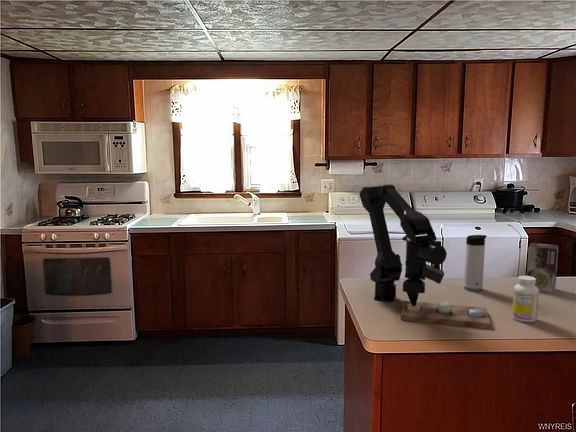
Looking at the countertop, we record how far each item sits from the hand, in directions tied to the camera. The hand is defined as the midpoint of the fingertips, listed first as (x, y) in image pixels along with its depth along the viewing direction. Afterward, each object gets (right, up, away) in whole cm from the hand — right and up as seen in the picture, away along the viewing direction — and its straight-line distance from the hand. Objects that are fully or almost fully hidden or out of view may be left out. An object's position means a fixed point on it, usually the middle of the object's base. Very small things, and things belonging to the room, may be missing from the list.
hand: (413, 305), depth 144 cm
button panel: (+9, -3, -2) cm, 9 cm away
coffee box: (+52, +1, +22) cm, 56 cm away
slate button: (+17, -3, -5) cm, 18 cm away
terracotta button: (0, -2, 0) cm, 2 cm away
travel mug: (+28, +1, +23) cm, 36 cm away
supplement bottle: (+32, -3, -5) cm, 32 cm away
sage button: (+9, -1, -2) cm, 9 cm away
